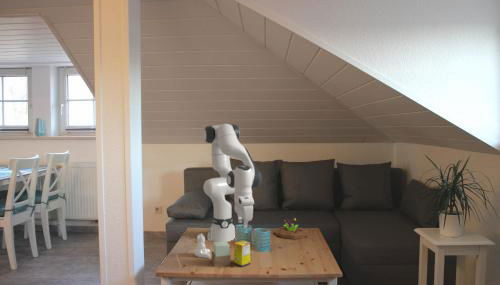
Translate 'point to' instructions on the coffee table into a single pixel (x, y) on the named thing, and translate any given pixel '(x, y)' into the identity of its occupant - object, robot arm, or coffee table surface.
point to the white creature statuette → (201, 248)
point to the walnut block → (220, 260)
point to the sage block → (221, 248)
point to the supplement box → (242, 253)
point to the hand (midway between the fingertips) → (242, 225)
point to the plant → (291, 231)
